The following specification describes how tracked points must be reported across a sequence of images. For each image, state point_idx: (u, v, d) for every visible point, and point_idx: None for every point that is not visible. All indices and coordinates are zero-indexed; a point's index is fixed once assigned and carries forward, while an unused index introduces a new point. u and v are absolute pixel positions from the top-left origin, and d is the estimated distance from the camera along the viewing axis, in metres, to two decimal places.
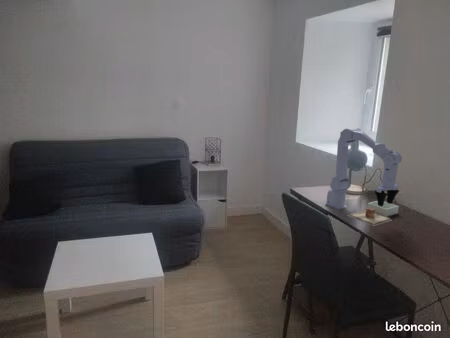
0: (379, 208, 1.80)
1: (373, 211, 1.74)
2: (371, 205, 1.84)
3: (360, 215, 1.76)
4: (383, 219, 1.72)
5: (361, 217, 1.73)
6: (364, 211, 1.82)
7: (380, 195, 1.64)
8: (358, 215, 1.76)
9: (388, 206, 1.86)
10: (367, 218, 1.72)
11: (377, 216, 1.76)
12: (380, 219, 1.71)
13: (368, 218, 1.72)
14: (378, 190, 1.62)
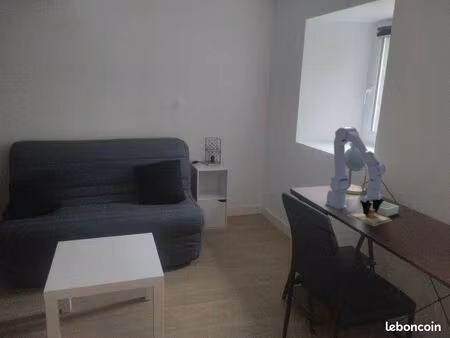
0: (379, 208, 1.80)
1: (373, 211, 1.74)
2: (371, 205, 1.84)
3: (360, 215, 1.76)
4: (383, 219, 1.72)
5: (361, 217, 1.73)
6: None
7: (365, 204, 1.72)
8: (358, 215, 1.76)
9: (388, 206, 1.86)
10: (367, 218, 1.72)
11: (377, 216, 1.76)
12: (380, 219, 1.71)
13: (368, 218, 1.72)
14: (363, 200, 1.69)
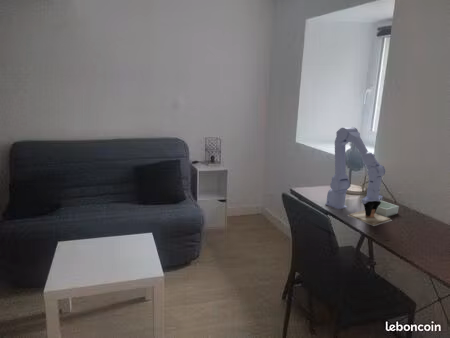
0: (379, 208, 1.80)
1: (373, 211, 1.74)
2: None
3: (360, 215, 1.76)
4: (383, 219, 1.72)
5: (361, 217, 1.73)
6: (364, 211, 1.82)
7: (367, 205, 1.73)
8: (358, 215, 1.76)
9: (388, 206, 1.86)
10: (367, 218, 1.72)
11: (377, 216, 1.76)
12: (380, 219, 1.71)
13: (368, 218, 1.72)
14: (363, 201, 1.69)
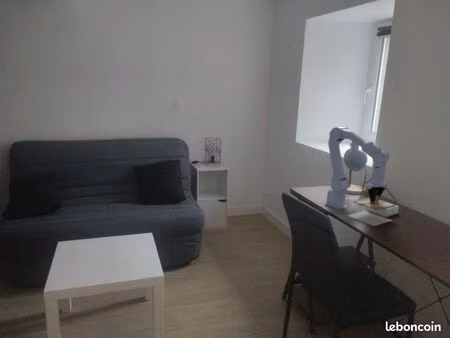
0: None
1: (377, 198, 1.74)
2: None
3: (364, 202, 1.76)
4: (388, 205, 1.72)
5: (365, 204, 1.73)
6: (368, 198, 1.82)
7: (372, 191, 1.73)
8: (362, 202, 1.76)
9: None
10: (371, 204, 1.72)
11: (381, 203, 1.76)
12: (385, 206, 1.71)
13: (372, 204, 1.72)
14: (367, 187, 1.70)
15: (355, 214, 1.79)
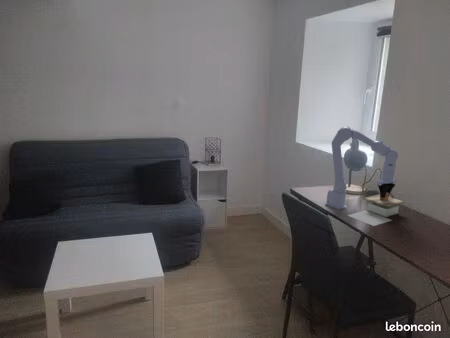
0: (379, 208, 1.80)
1: (387, 194, 1.81)
2: (371, 205, 1.84)
3: (375, 199, 1.84)
4: (397, 202, 1.80)
5: (376, 200, 1.81)
6: (378, 195, 1.90)
7: (382, 187, 1.81)
8: (373, 198, 1.84)
9: None
10: (382, 201, 1.80)
11: (391, 199, 1.83)
12: (395, 202, 1.79)
13: (383, 201, 1.80)
14: (378, 183, 1.77)
15: (355, 214, 1.79)
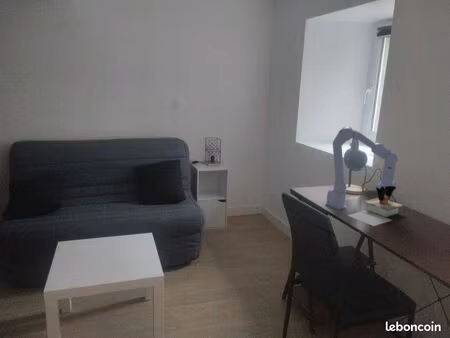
0: (379, 208, 1.80)
1: (387, 198, 1.82)
2: (371, 205, 1.84)
3: (374, 202, 1.84)
4: (396, 205, 1.80)
5: (375, 204, 1.82)
6: (377, 199, 1.90)
7: (380, 191, 1.80)
8: (372, 202, 1.84)
9: None
10: (381, 205, 1.81)
11: (390, 203, 1.84)
12: (394, 206, 1.80)
13: (382, 205, 1.81)
14: (378, 186, 1.77)
15: (355, 214, 1.79)
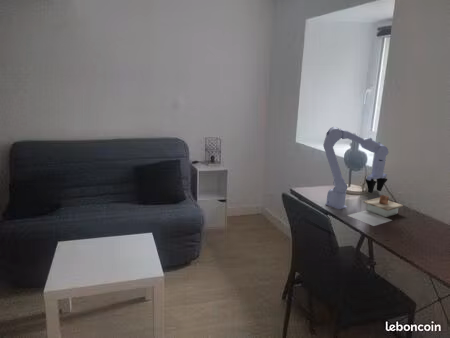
0: (379, 208, 1.80)
1: (387, 198, 1.82)
2: (371, 205, 1.84)
3: (374, 202, 1.84)
4: (396, 205, 1.80)
5: (375, 204, 1.82)
6: (377, 199, 1.90)
7: (370, 183, 1.83)
8: (372, 202, 1.84)
9: None
10: (381, 205, 1.81)
11: (390, 203, 1.84)
12: (394, 206, 1.80)
13: (382, 205, 1.81)
14: (368, 178, 1.80)
15: (355, 214, 1.79)
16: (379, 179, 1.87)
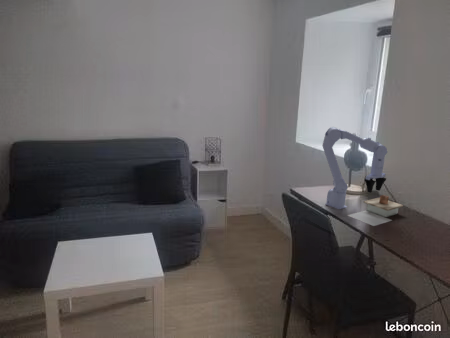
0: (379, 208, 1.80)
1: (387, 198, 1.82)
2: (371, 205, 1.84)
3: (374, 202, 1.84)
4: (396, 205, 1.80)
5: (375, 204, 1.82)
6: (377, 199, 1.90)
7: (369, 182, 1.83)
8: (372, 202, 1.84)
9: None
10: (381, 205, 1.81)
11: (390, 203, 1.84)
12: (394, 206, 1.80)
13: (382, 205, 1.81)
14: (367, 178, 1.81)
15: (355, 214, 1.79)
16: (378, 179, 1.88)
